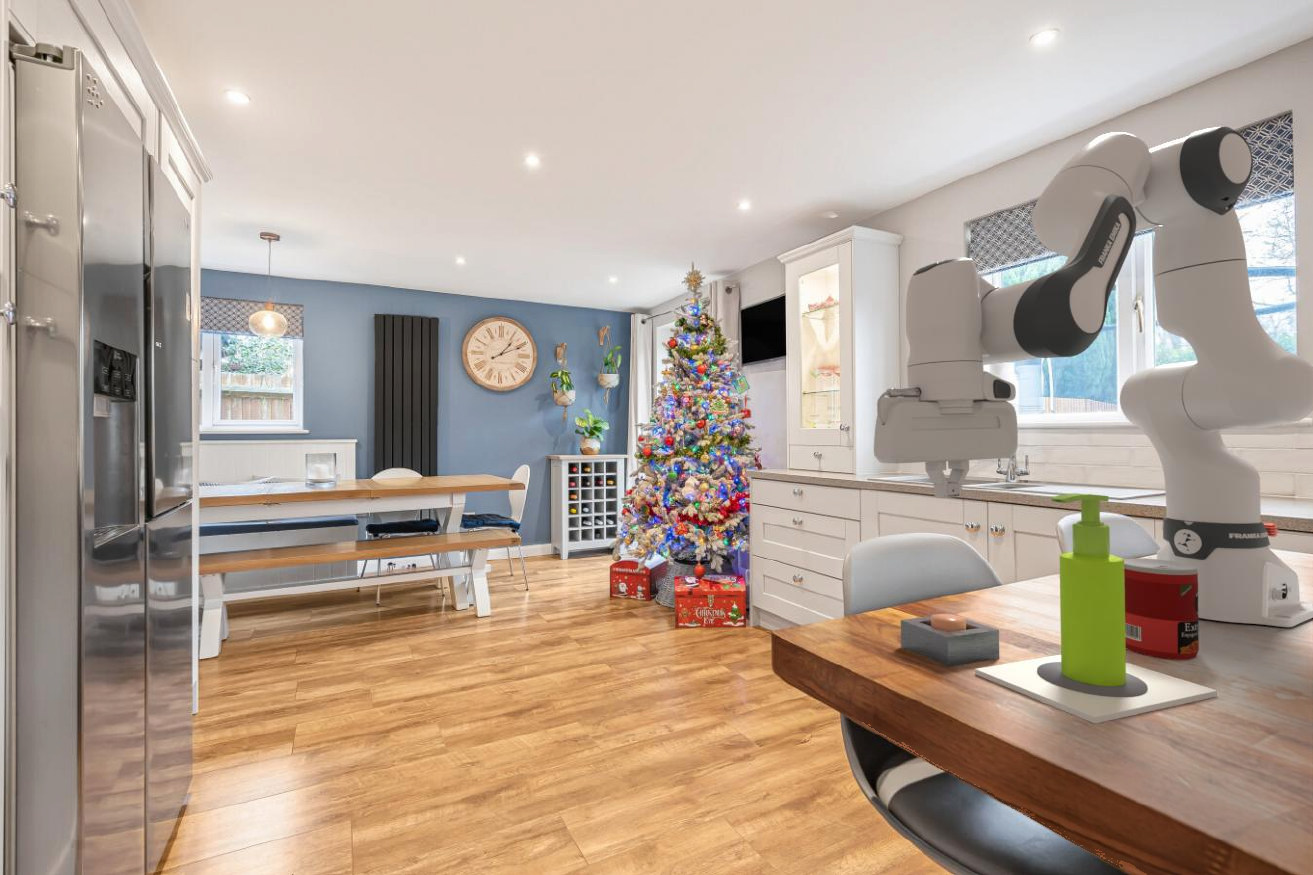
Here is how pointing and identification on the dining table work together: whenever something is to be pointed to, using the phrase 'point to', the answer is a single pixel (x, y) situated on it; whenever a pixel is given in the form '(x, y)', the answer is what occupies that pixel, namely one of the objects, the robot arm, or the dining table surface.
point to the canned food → (1161, 608)
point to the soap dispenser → (1092, 600)
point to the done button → (948, 622)
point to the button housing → (950, 642)
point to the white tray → (1095, 689)
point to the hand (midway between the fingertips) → (948, 497)
